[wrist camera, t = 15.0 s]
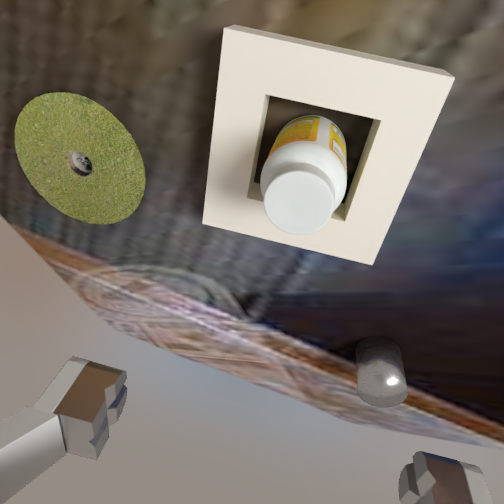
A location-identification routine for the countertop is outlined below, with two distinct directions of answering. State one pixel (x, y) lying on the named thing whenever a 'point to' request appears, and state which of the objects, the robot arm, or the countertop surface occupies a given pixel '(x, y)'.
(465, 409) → the countertop surface
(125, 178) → the green disc
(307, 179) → the supplement bottle
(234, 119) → the bore plate
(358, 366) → the short stub
